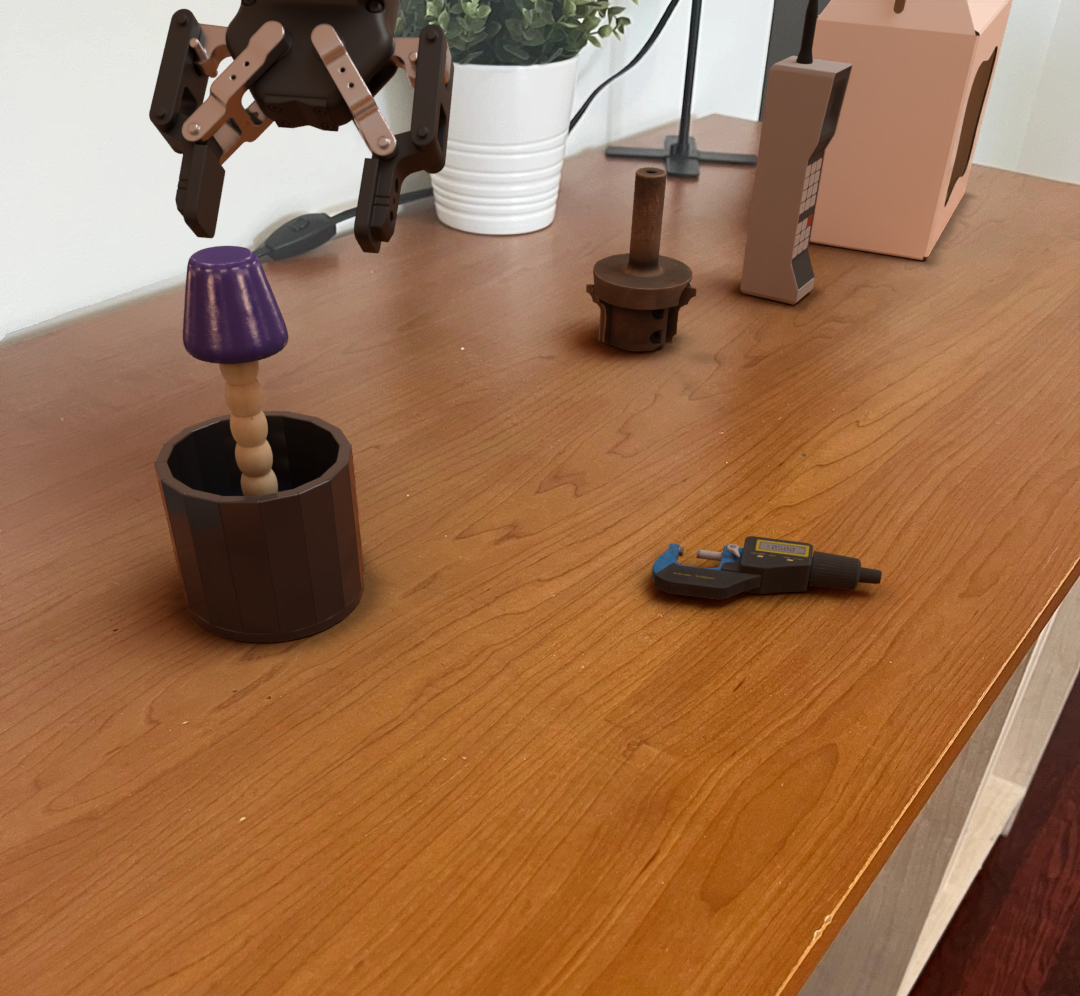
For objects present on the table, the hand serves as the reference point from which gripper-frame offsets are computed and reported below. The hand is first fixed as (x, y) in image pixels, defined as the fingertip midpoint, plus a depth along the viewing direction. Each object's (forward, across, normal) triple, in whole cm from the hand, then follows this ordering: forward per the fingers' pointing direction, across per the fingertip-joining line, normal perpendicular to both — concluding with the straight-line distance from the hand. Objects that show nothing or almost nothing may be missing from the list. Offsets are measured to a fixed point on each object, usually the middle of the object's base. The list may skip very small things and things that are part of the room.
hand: (281, 238), depth 55 cm
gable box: (-35, +34, +58) cm, 75 cm away
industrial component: (-10, +16, +32) cm, 37 cm away
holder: (+16, 0, +6) cm, 17 cm away
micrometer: (+12, +26, +10) cm, 30 cm away
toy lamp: (+16, 0, +6) cm, 17 cm away
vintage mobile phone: (-19, +25, +42) cm, 52 cm away
